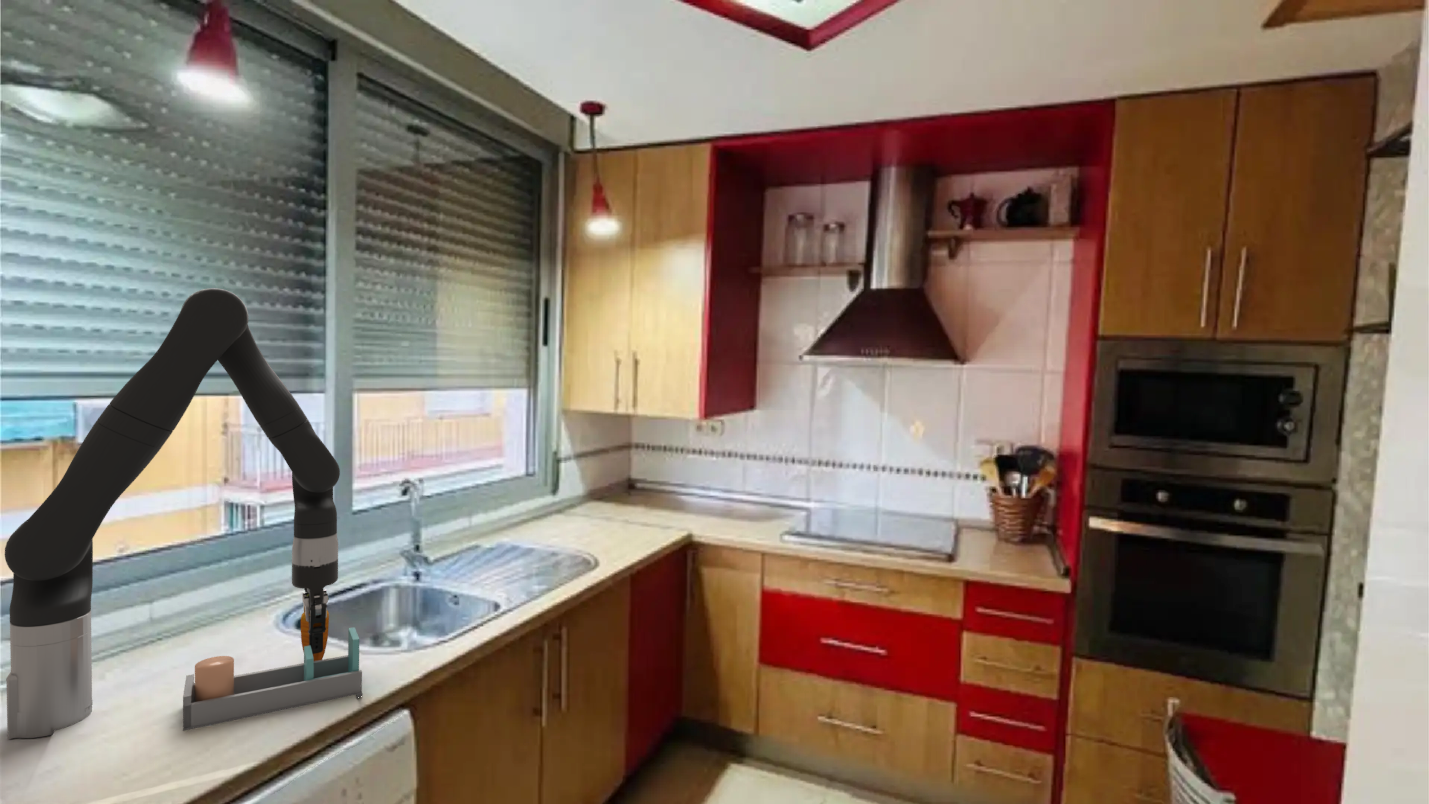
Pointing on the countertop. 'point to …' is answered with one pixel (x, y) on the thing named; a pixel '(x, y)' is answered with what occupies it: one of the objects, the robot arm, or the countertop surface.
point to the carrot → (306, 635)
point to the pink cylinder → (214, 678)
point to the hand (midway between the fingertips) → (314, 647)
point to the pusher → (352, 656)
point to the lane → (272, 692)
